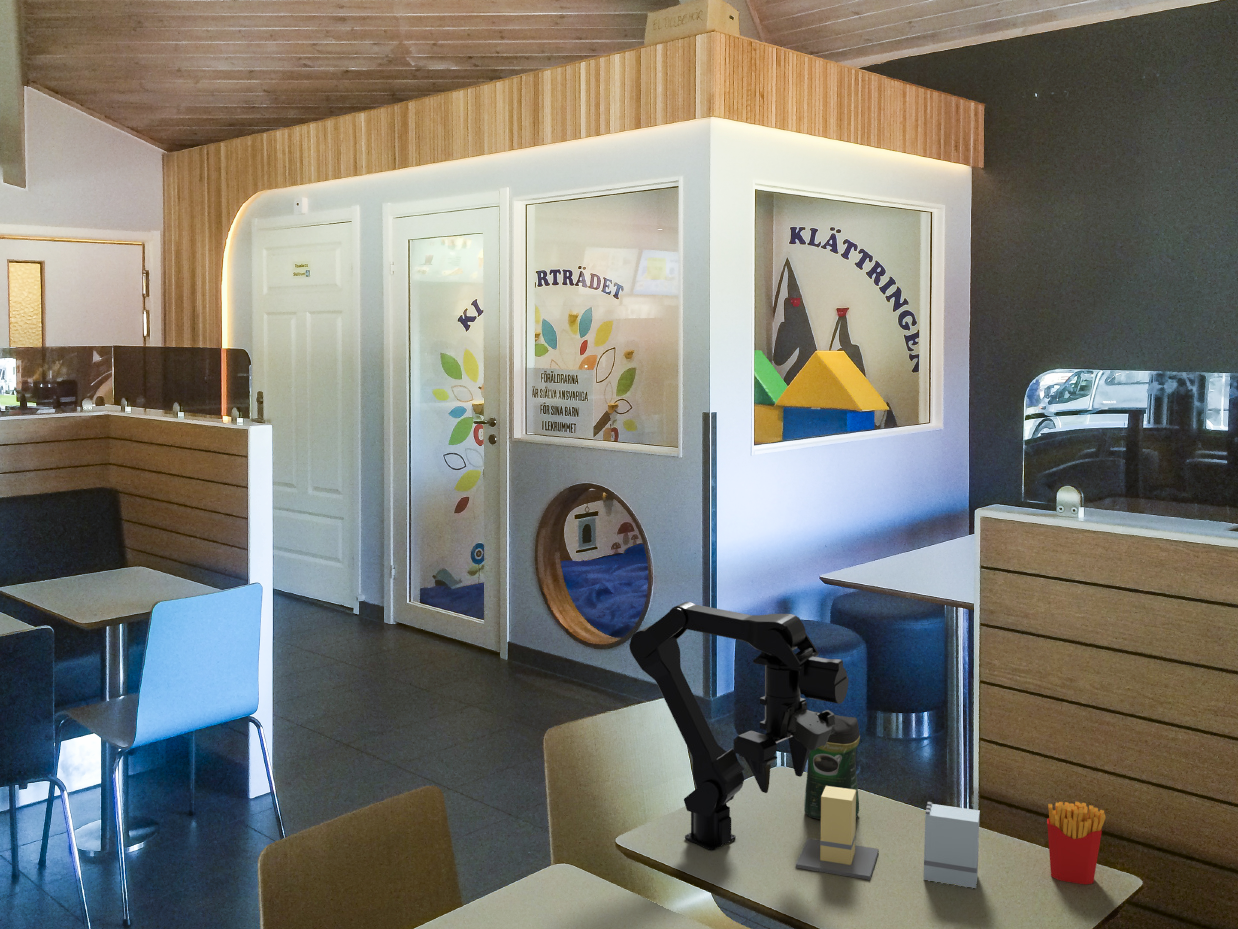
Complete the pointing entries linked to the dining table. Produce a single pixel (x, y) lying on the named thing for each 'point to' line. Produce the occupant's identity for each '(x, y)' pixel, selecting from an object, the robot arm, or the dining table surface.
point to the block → (838, 825)
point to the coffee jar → (833, 765)
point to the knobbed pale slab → (951, 845)
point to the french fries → (1074, 841)
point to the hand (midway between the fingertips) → (781, 784)
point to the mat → (858, 868)
